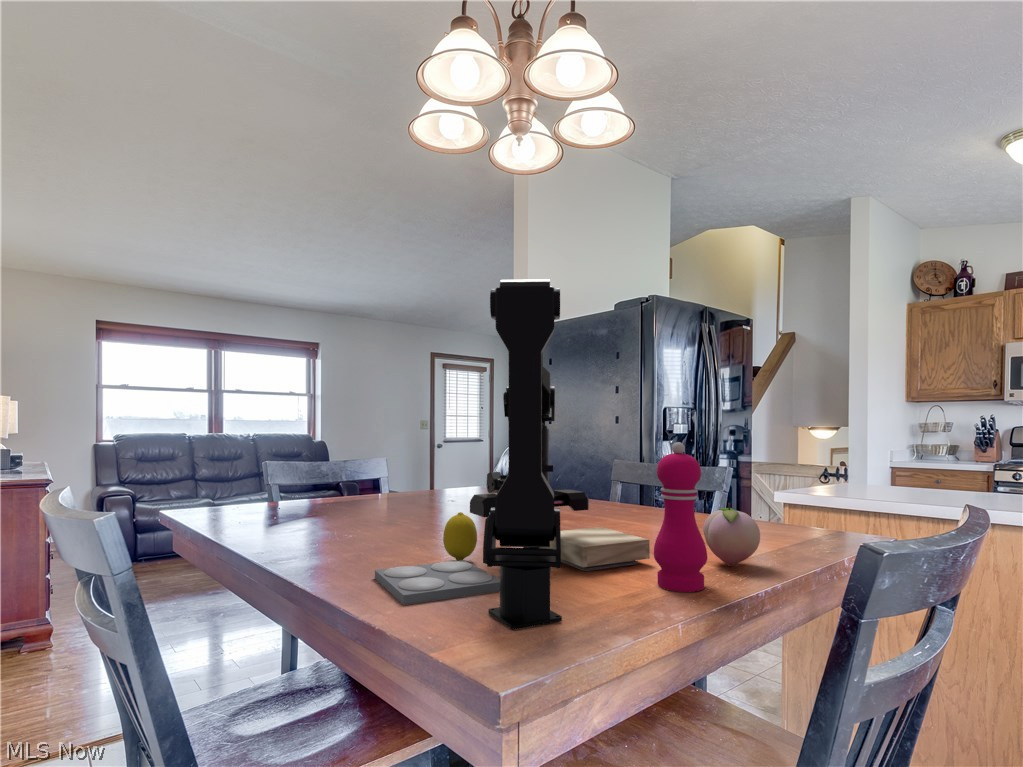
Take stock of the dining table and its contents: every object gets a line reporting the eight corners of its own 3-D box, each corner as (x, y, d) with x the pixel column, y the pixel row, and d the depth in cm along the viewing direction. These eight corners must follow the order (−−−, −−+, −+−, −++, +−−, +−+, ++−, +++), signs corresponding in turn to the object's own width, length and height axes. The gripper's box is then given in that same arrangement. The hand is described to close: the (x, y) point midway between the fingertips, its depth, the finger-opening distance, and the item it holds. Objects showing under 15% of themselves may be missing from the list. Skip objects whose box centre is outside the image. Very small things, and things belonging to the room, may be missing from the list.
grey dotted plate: (638, 564, 92) (638, 560, 92) (585, 571, 87) (585, 567, 87) (599, 551, 101) (599, 548, 101) (549, 557, 97) (549, 554, 97)
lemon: (436, 563, 92) (437, 513, 93) (455, 556, 97) (455, 509, 97) (465, 567, 89) (465, 515, 90) (483, 560, 94) (483, 511, 95)
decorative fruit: (770, 574, 86) (768, 507, 87) (714, 572, 87) (713, 506, 88) (749, 559, 96) (747, 499, 96) (699, 558, 96) (698, 498, 97)
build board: (504, 590, 77) (504, 580, 77) (403, 605, 70) (403, 593, 70) (463, 567, 89) (464, 558, 89) (374, 578, 83) (374, 568, 83)
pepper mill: (714, 584, 80) (711, 442, 82) (699, 596, 74) (696, 443, 76) (664, 576, 84) (662, 441, 86) (646, 587, 78) (644, 442, 80)
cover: (649, 558, 92) (649, 539, 92) (582, 567, 86) (582, 547, 86) (601, 543, 103) (600, 527, 103) (539, 550, 97) (539, 532, 97)
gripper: (554, 454, 102) (554, 543, 100) (456, 456, 93) (455, 554, 92) (590, 457, 92) (591, 556, 91) (485, 460, 83) (484, 569, 82)
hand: (530, 558), depth 89 cm, fingers closed
